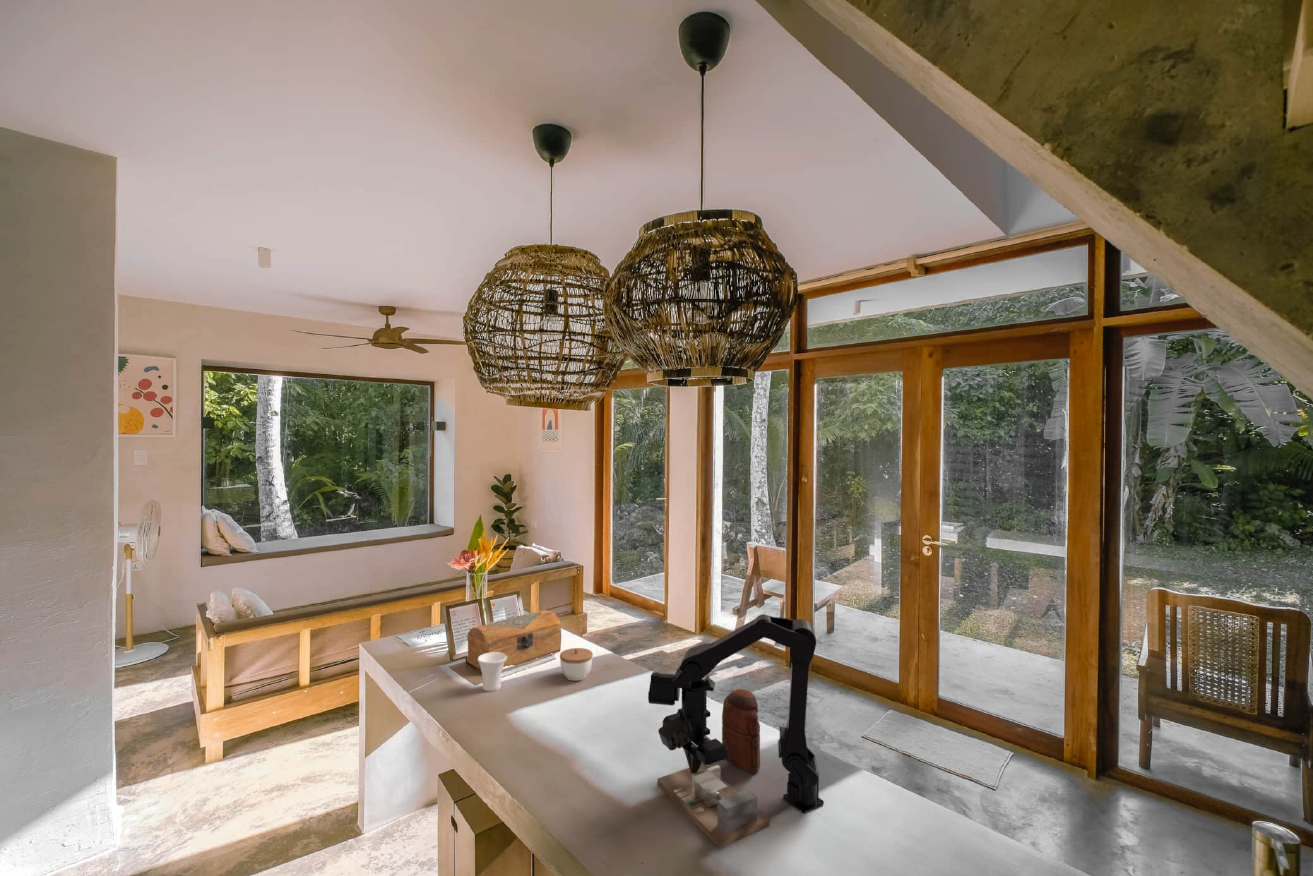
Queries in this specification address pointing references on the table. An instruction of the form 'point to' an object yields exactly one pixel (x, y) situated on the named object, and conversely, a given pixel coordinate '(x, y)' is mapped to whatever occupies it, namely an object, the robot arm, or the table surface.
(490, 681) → the cup
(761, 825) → the gauge base
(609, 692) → the table surface
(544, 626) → the wooden box
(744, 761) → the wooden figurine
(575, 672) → the lidded jar
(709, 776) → the gauge carriage
